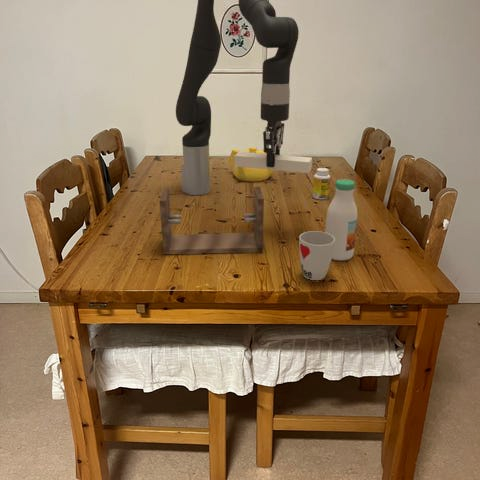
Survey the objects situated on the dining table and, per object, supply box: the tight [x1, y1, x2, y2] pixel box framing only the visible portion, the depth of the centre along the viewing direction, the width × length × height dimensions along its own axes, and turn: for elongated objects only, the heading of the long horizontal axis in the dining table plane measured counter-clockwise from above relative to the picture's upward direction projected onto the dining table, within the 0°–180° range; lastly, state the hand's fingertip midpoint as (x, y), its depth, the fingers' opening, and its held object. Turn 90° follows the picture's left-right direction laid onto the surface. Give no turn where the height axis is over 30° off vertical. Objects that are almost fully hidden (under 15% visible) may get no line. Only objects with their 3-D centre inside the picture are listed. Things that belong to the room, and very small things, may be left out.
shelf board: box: [234, 151, 313, 174], centre depth 129 cm, size 21×5×3 cm, turn 72°
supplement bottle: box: [312, 167, 331, 201], centre depth 161 cm, size 6×6×10 cm
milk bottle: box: [324, 178, 358, 261], centre depth 118 cm, size 8×8×20 cm
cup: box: [298, 230, 335, 281], centre depth 109 cm, size 8×8×10 cm
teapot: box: [228, 146, 276, 183], centre depth 183 cm, size 17×17×12 cm
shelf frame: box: [159, 186, 265, 255], centre depth 123 cm, size 26×10×15 cm, turn 94°
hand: (273, 164), depth 129 cm, fingers closed on shelf board, 5 cm apart
